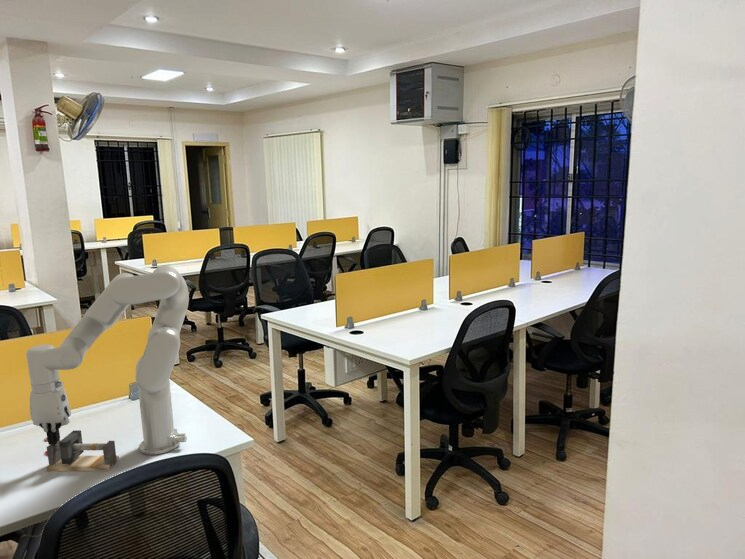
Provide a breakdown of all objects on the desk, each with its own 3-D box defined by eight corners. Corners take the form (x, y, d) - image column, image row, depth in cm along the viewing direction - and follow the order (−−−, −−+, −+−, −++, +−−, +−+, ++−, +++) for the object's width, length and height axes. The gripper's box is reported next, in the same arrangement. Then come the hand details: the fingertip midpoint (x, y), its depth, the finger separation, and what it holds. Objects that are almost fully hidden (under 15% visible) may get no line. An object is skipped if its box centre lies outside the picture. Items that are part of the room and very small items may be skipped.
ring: (83, 451, 172) (80, 430, 170) (69, 464, 164) (66, 442, 163) (76, 451, 172) (73, 430, 170) (61, 464, 164) (58, 442, 163)
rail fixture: (119, 459, 171) (116, 438, 170) (107, 470, 164) (105, 449, 163) (60, 459, 172) (57, 438, 171) (46, 471, 165) (43, 449, 164)
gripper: (77, 381, 167) (84, 436, 171) (30, 381, 168) (38, 436, 171) (62, 390, 160) (71, 448, 163) (13, 391, 160) (22, 448, 164)
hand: (54, 442), depth 167 cm, fingers closed
